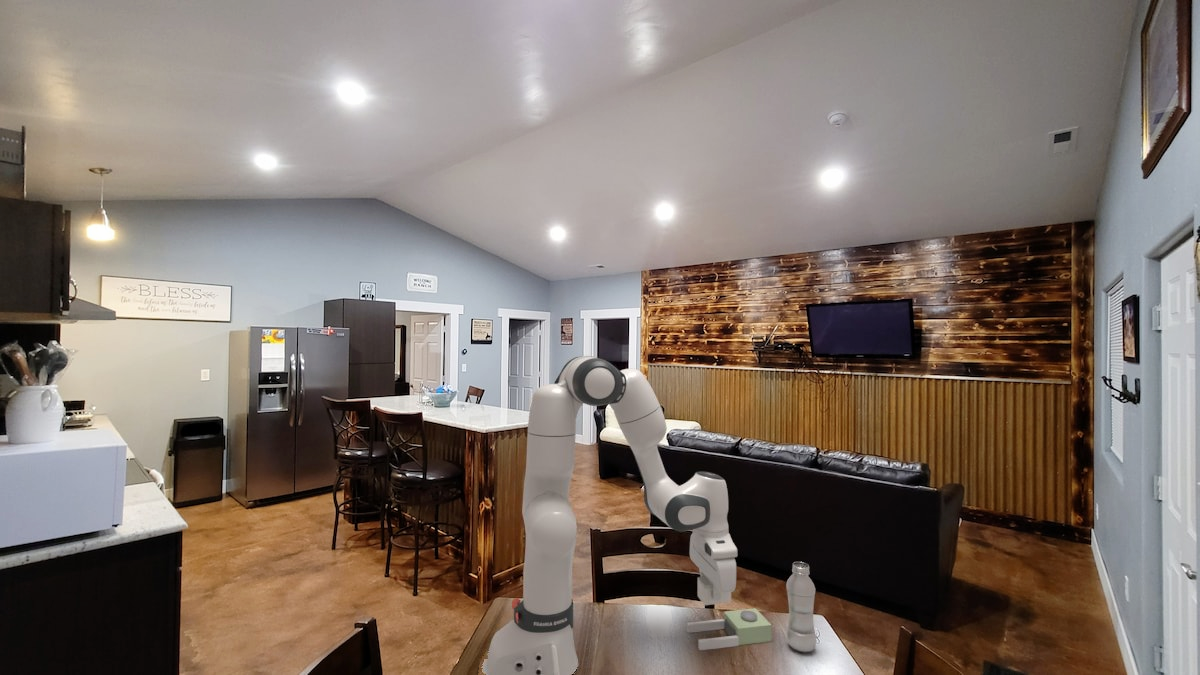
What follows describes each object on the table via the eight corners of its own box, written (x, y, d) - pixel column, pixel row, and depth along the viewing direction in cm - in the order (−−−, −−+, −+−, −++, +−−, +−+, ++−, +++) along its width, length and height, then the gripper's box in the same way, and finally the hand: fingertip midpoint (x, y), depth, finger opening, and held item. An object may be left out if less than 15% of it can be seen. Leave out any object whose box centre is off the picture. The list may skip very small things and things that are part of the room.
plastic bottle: (819, 658, 116) (819, 572, 117) (788, 654, 117) (788, 569, 118) (813, 642, 122) (812, 560, 123) (784, 638, 124) (784, 558, 124)
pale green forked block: (699, 650, 119) (699, 630, 119) (686, 630, 127) (686, 611, 127) (772, 641, 123) (772, 622, 123) (754, 623, 131) (754, 604, 131)
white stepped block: (704, 605, 121) (704, 585, 122) (697, 596, 126) (697, 577, 126) (731, 602, 123) (731, 582, 123) (723, 593, 127) (723, 574, 127)
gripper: (683, 524, 134) (683, 575, 134) (715, 555, 114) (716, 615, 114) (705, 522, 135) (705, 573, 135) (741, 552, 115) (741, 612, 115)
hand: (710, 593), depth 124 cm, fingers closed on white stepped block, 4 cm apart
